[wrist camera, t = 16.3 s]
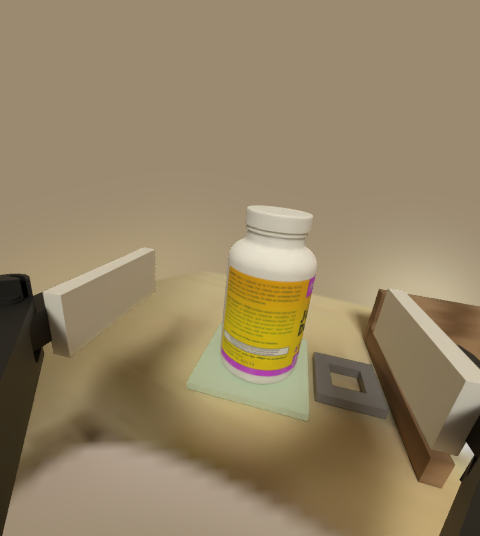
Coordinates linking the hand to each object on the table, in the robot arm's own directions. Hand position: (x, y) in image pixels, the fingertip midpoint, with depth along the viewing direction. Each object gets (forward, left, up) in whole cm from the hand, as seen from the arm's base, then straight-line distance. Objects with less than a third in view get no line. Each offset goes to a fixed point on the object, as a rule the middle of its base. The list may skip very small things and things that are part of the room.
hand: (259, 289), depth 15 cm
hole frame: (+8, +5, -10) cm, 13 cm away
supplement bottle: (0, +5, -9) cm, 11 cm away
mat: (0, +5, -10) cm, 11 cm away
